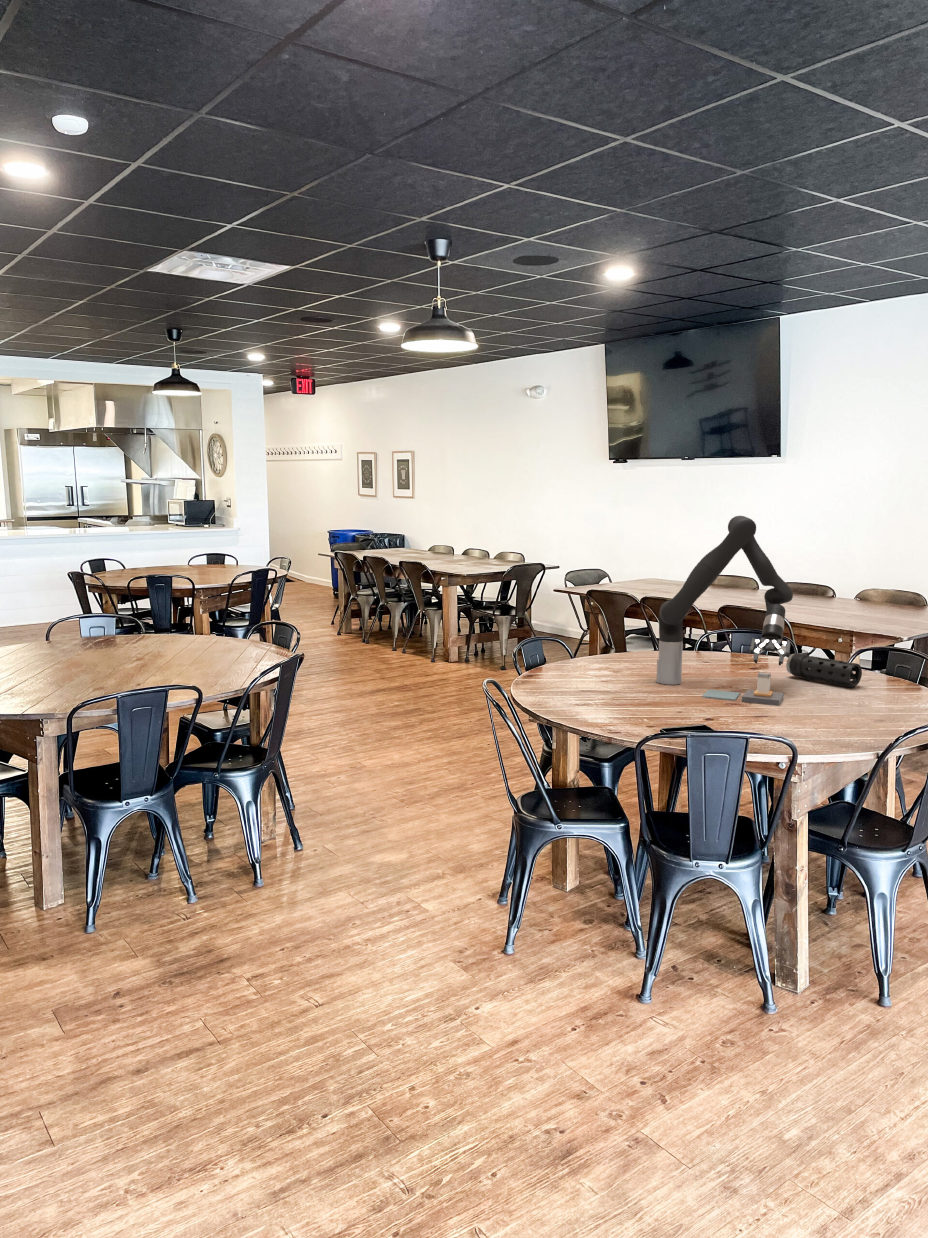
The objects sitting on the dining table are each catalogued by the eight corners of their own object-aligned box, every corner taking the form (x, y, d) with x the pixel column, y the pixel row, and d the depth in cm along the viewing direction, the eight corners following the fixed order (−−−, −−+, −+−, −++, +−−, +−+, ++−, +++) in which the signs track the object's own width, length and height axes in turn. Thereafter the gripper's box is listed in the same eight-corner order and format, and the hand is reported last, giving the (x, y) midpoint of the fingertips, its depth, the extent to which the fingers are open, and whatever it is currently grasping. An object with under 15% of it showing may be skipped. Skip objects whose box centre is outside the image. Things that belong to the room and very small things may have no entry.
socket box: (741, 702, 318) (742, 696, 318) (747, 694, 330) (747, 689, 329) (779, 705, 312) (779, 700, 312) (783, 698, 324) (783, 692, 324)
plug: (753, 701, 320) (754, 674, 318) (755, 697, 325) (756, 671, 324) (770, 702, 317) (771, 676, 316) (772, 699, 322) (773, 672, 321)
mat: (701, 697, 325) (702, 696, 325) (708, 691, 336) (708, 689, 336) (735, 700, 320) (735, 699, 320) (740, 694, 330) (740, 692, 330)
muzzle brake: (848, 690, 337) (850, 664, 335) (784, 678, 359) (785, 653, 357) (861, 687, 342) (863, 661, 341) (797, 675, 365) (798, 651, 363)
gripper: (753, 621, 335) (747, 655, 327) (792, 624, 329) (787, 659, 320) (754, 633, 341) (748, 667, 332) (793, 635, 334) (788, 670, 326)
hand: (767, 663), depth 326 cm, fingers open, 8 cm apart
